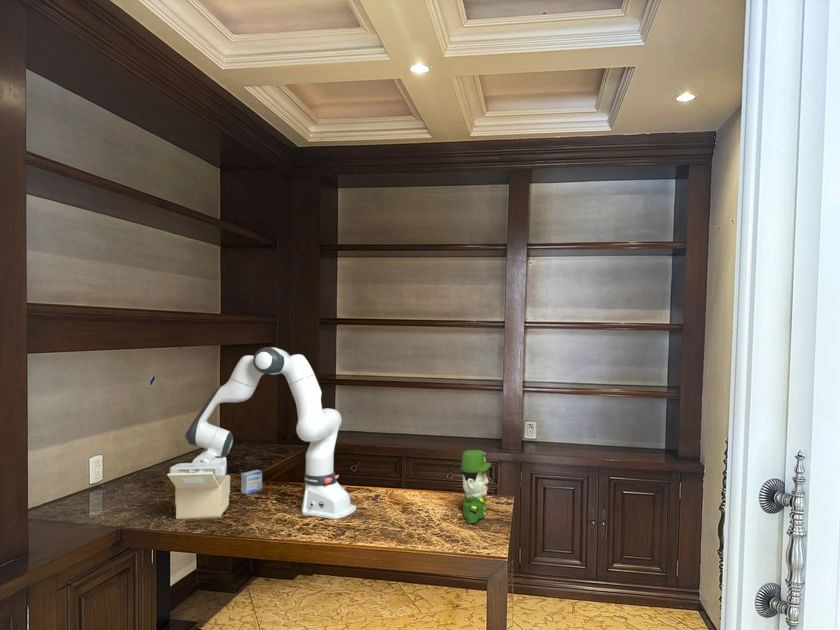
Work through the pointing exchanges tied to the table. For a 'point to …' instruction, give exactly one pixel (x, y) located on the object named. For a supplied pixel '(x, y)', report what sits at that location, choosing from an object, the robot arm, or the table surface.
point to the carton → (203, 500)
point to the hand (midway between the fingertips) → (192, 476)
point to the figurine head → (474, 484)
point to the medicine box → (251, 481)
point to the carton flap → (193, 480)
